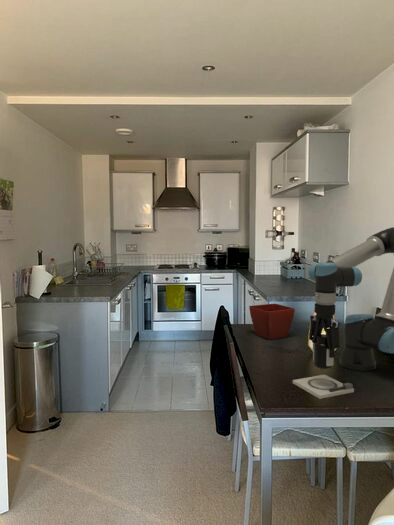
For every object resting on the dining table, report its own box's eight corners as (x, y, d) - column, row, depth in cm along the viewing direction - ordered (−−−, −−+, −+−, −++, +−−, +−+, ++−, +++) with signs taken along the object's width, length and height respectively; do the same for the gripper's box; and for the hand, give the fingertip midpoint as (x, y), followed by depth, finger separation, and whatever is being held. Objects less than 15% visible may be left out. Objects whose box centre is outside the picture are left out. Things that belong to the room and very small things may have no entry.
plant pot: (247, 333, 231) (248, 305, 230) (274, 330, 239) (275, 303, 238) (266, 342, 214) (267, 311, 213) (295, 338, 222) (295, 308, 221)
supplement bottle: (328, 363, 155) (329, 333, 154) (334, 369, 148) (336, 338, 147) (310, 363, 155) (311, 333, 154) (316, 369, 148) (317, 337, 147)
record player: (324, 377, 163) (324, 370, 163) (353, 391, 148) (354, 384, 148) (292, 383, 156) (292, 376, 156) (319, 398, 142) (320, 391, 142)
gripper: (300, 299, 157) (298, 356, 159) (335, 308, 139) (333, 372, 141) (315, 298, 160) (313, 353, 162) (352, 307, 142) (349, 369, 144)
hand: (322, 362), depth 151 cm, fingers closed on supplement bottle, 7 cm apart
